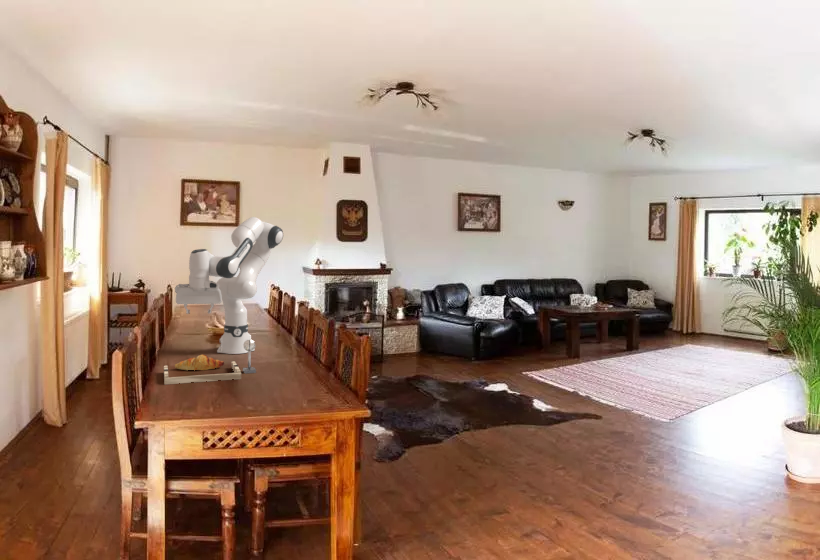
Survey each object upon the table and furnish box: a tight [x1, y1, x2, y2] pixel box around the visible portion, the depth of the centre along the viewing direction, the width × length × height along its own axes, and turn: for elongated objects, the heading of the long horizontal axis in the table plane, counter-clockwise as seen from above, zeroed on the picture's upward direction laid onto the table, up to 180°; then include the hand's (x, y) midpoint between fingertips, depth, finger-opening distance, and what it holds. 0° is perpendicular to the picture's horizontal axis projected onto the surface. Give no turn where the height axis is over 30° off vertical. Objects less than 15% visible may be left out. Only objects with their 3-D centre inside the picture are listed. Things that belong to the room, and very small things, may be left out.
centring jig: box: [163, 361, 242, 385], centre depth 249 cm, size 22×30×4 cm
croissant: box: [174, 354, 225, 372], centre depth 262 cm, size 21×10×8 cm
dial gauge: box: [242, 339, 257, 374], centre depth 258 cm, size 5×5×14 cm
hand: (198, 313), depth 270 cm, fingers open, 8 cm apart
